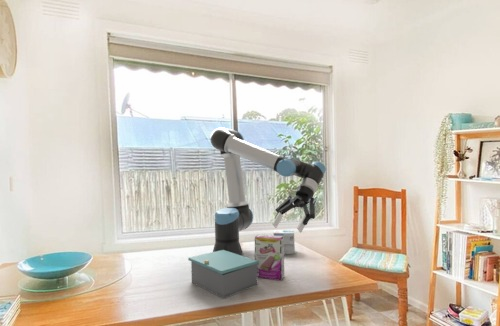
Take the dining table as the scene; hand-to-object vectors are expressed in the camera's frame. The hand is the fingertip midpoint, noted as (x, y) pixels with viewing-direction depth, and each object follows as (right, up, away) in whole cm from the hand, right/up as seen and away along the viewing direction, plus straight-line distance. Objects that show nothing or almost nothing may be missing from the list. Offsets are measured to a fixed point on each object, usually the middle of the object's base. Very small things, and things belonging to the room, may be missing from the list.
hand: (286, 228), depth 127 cm
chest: (-25, -18, -13) cm, 34 cm away
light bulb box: (+2, -18, +27) cm, 33 cm away
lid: (-26, -10, -13) cm, 30 cm away
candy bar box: (-7, -18, -7) cm, 21 cm away
